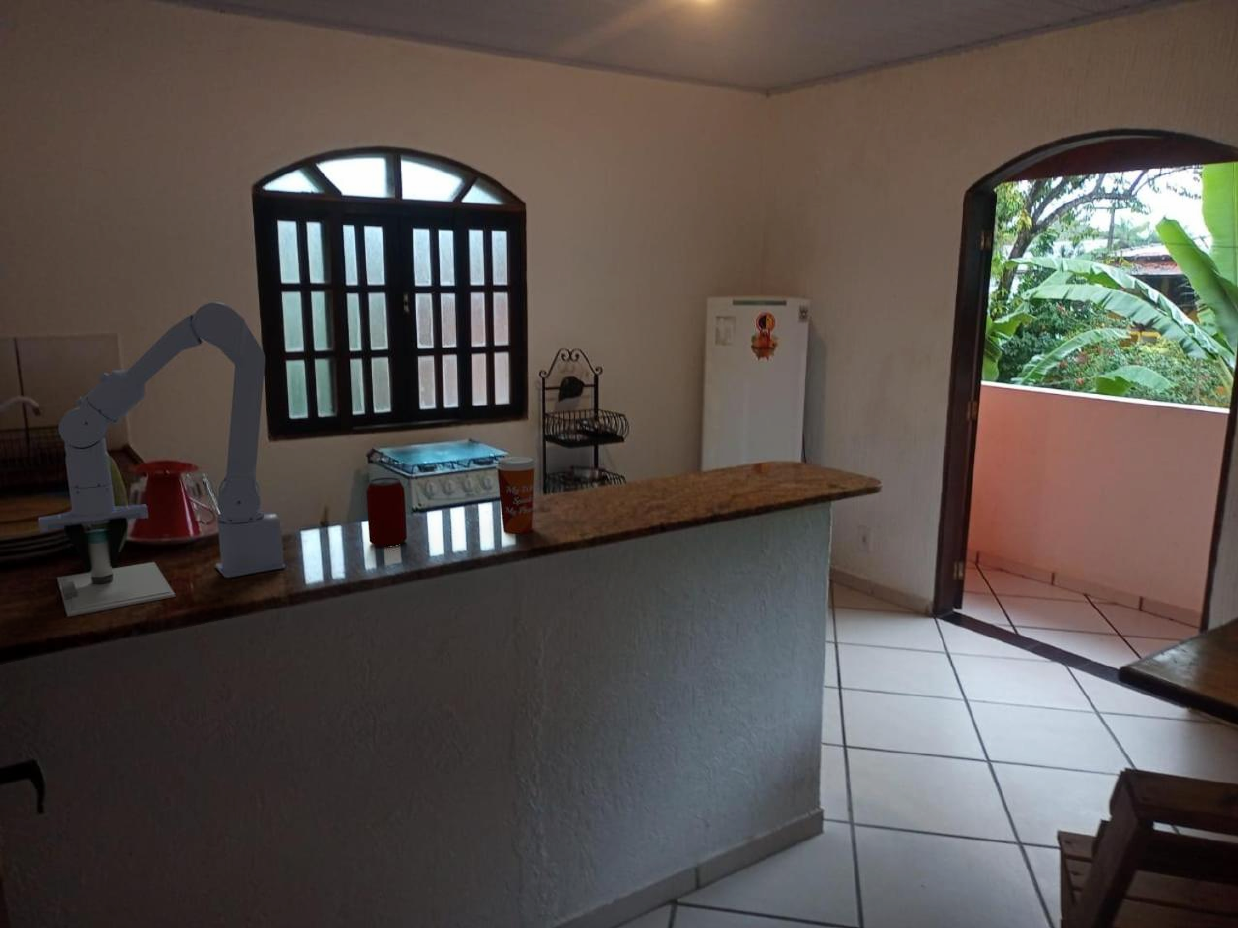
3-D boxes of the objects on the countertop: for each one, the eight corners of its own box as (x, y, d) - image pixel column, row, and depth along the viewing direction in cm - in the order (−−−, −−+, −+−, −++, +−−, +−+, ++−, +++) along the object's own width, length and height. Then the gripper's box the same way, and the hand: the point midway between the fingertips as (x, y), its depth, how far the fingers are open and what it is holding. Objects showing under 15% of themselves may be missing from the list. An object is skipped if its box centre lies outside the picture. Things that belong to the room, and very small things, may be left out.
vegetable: (128, 549, 155) (115, 440, 152) (138, 556, 151) (125, 445, 147) (90, 556, 151) (76, 444, 147) (99, 564, 147) (85, 449, 143)
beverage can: (410, 538, 162) (407, 476, 160) (403, 548, 156) (399, 484, 153) (374, 538, 162) (370, 476, 160) (365, 549, 155) (361, 484, 153)
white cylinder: (113, 576, 138) (107, 528, 137) (113, 581, 136) (107, 532, 134) (91, 579, 137) (85, 530, 135) (91, 584, 134) (85, 535, 133)
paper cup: (509, 537, 163) (508, 465, 160) (490, 528, 169) (488, 459, 166) (545, 530, 167) (543, 460, 164) (525, 522, 173) (523, 454, 171)
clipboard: (154, 564, 147) (153, 556, 147) (175, 596, 131) (174, 587, 131) (57, 580, 139) (56, 571, 138) (67, 616, 123) (66, 607, 123)
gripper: (139, 474, 140) (148, 554, 143) (33, 485, 132) (44, 570, 135) (146, 481, 135) (155, 564, 137) (35, 494, 126) (47, 582, 129)
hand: (101, 568), depth 136 cm, fingers closed on white cylinder, 3 cm apart
